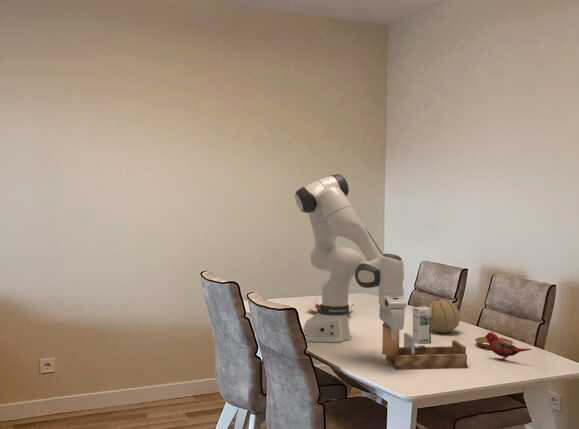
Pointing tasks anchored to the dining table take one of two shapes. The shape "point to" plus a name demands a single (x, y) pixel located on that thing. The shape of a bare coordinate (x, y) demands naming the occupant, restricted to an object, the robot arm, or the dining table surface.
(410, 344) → the pusher
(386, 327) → the jar
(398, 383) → the dining table surface
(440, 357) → the shallow wooden crate
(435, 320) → the cantaloupe
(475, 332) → the dining table surface
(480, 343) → the plant saucer
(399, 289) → the robot arm
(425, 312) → the syrup box
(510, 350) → the decorative bird figurine
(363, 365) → the dining table surface
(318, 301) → the crumpled cloth
